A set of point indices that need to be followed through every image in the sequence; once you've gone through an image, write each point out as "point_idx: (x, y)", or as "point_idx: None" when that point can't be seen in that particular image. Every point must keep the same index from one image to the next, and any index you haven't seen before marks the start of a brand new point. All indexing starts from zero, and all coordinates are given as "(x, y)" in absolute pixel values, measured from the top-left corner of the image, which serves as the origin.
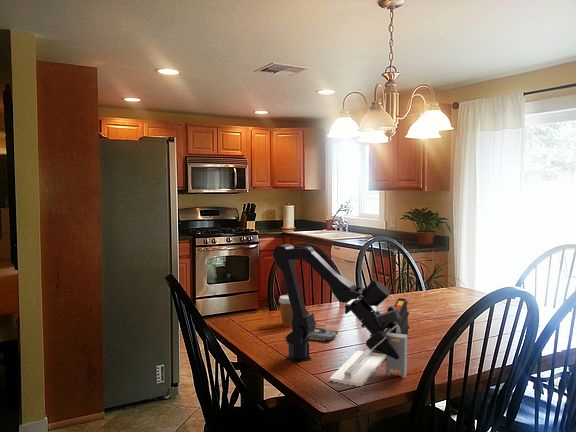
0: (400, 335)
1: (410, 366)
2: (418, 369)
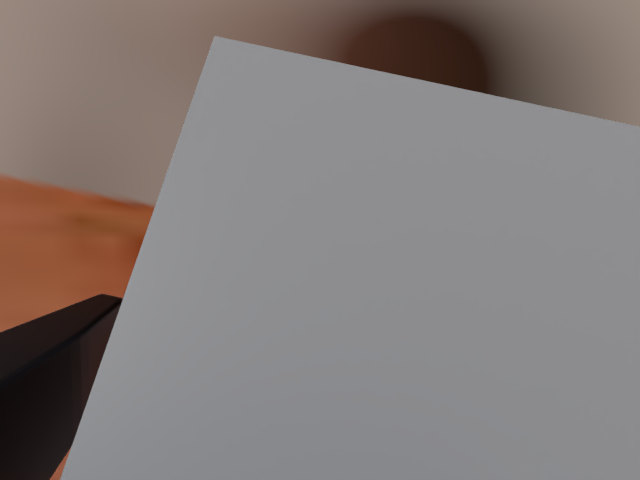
0: (392, 339)
1: (35, 285)
2: (118, 210)
